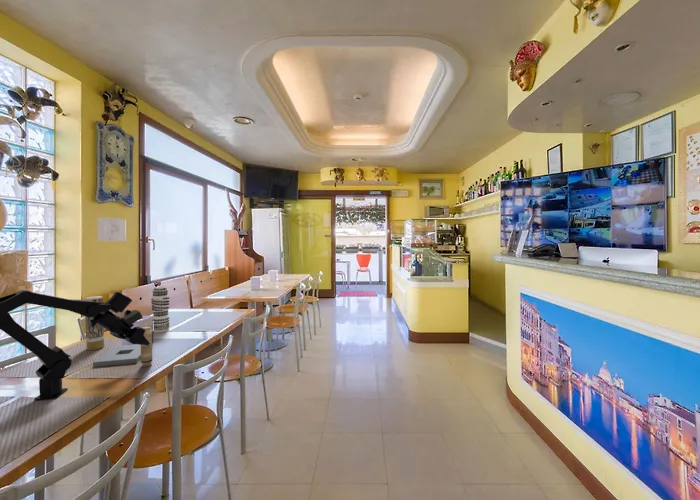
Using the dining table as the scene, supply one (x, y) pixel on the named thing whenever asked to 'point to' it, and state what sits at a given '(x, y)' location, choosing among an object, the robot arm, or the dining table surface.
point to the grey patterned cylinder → (94, 330)
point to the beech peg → (147, 348)
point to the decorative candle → (160, 309)
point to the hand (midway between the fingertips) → (143, 342)
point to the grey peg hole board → (119, 355)
